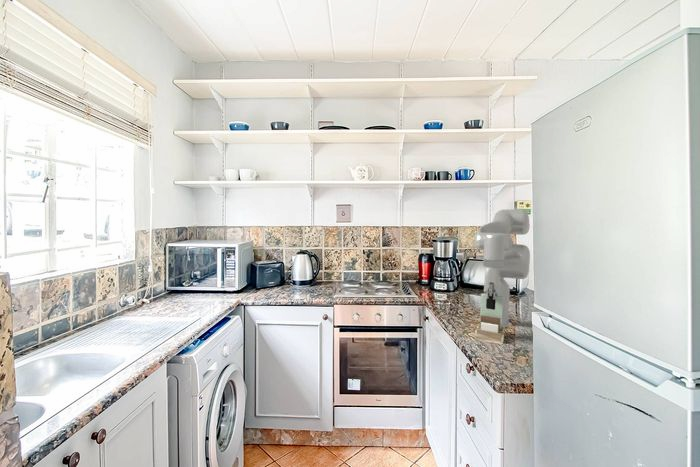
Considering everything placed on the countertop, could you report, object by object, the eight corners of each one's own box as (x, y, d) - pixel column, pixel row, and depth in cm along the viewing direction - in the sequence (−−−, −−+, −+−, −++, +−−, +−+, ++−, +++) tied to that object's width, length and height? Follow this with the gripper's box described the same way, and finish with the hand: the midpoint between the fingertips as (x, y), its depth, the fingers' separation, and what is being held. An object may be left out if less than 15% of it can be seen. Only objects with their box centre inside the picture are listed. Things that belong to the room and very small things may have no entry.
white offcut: (480, 337, 121) (481, 322, 121) (497, 340, 118) (498, 324, 118) (480, 338, 120) (481, 323, 120) (497, 341, 117) (498, 326, 117)
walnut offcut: (480, 334, 124) (481, 315, 124) (499, 338, 121) (500, 318, 121) (479, 335, 123) (480, 316, 123) (499, 339, 119) (500, 319, 119)
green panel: (480, 331, 127) (481, 293, 127) (501, 335, 124) (503, 296, 123) (479, 333, 126) (481, 294, 125) (501, 337, 122) (502, 297, 121)
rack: (477, 333, 129) (478, 322, 129) (504, 338, 124) (504, 326, 124) (474, 341, 120) (474, 329, 120) (502, 347, 115) (503, 334, 115)
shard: (471, 320, 148) (471, 316, 148) (487, 324, 143) (487, 320, 143) (462, 325, 140) (462, 321, 140) (479, 329, 135) (479, 325, 135)
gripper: (485, 261, 133) (483, 300, 134) (480, 265, 118) (479, 309, 119) (504, 262, 129) (503, 303, 130) (502, 267, 114) (500, 312, 115)
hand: (491, 306), depth 124 cm, fingers open, 9 cm apart
